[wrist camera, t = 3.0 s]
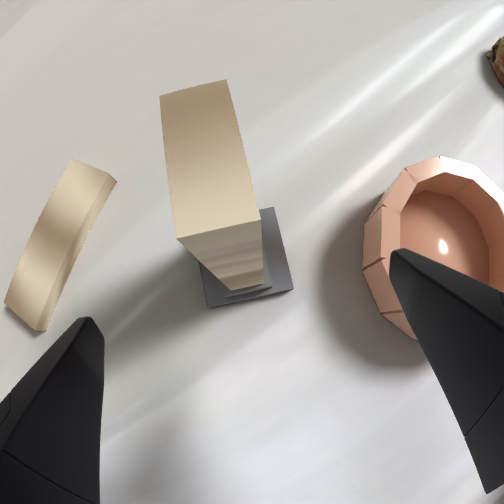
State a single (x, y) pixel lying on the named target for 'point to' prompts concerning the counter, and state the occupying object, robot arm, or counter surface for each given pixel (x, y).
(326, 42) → the counter surface
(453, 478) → the counter surface
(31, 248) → the light wooden flat block
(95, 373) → the robot arm
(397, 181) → the bowl
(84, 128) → the counter surface
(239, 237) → the wooden pillar
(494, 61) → the bread roll
